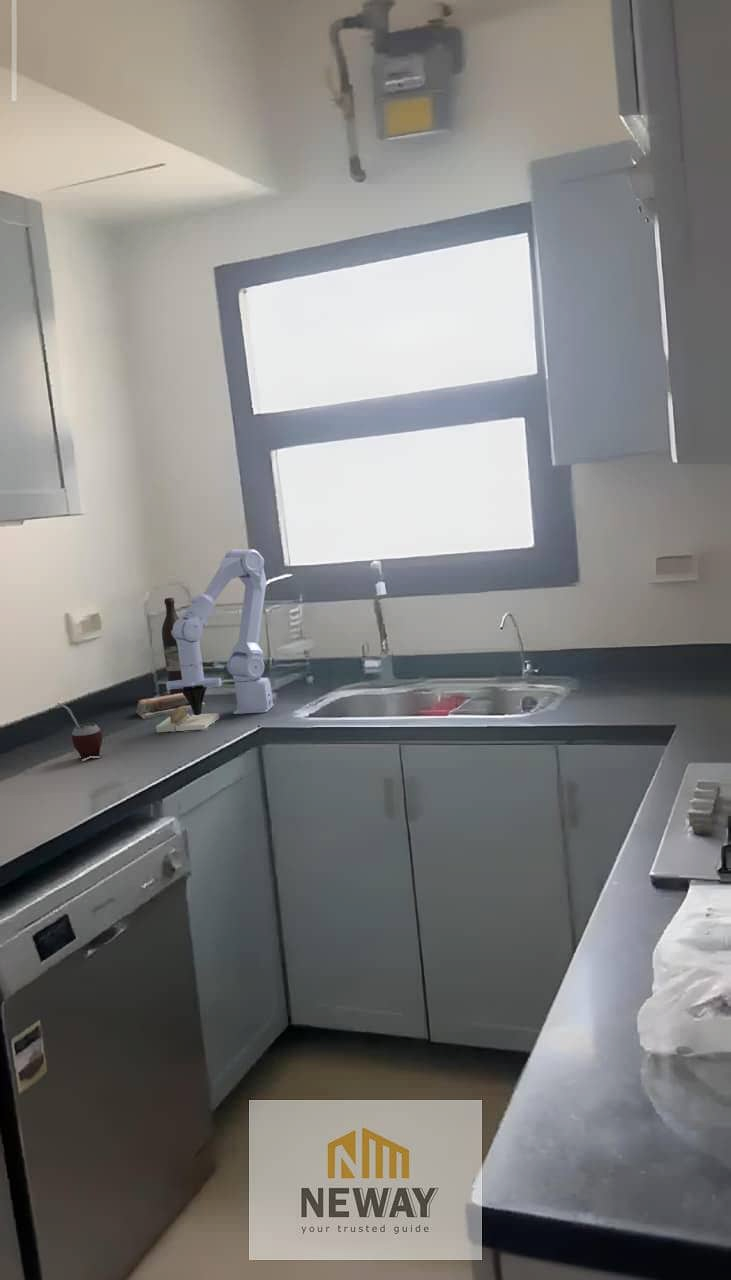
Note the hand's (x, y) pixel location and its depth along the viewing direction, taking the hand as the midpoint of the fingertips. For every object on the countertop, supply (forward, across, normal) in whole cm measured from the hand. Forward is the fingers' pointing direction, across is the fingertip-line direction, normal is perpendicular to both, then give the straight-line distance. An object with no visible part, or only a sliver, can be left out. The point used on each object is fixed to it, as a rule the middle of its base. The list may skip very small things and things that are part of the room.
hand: (197, 714), depth 281 cm
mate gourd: (+3, -19, -27) cm, 33 cm away
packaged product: (+4, -15, +20) cm, 25 cm away
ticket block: (+3, 0, 0) cm, 3 cm away
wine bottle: (+3, -17, +36) cm, 40 cm away
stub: (+3, -7, 0) cm, 8 cm away
